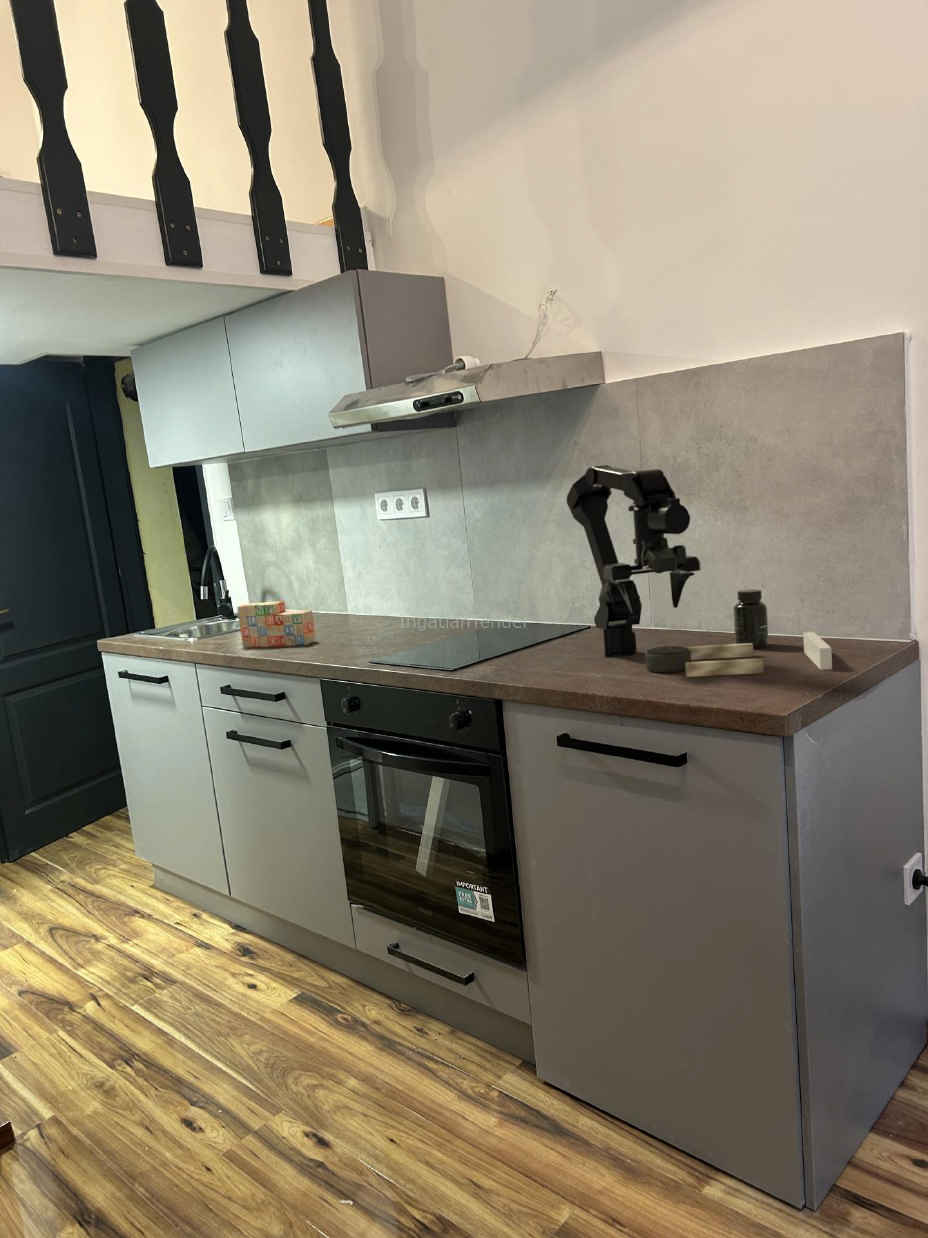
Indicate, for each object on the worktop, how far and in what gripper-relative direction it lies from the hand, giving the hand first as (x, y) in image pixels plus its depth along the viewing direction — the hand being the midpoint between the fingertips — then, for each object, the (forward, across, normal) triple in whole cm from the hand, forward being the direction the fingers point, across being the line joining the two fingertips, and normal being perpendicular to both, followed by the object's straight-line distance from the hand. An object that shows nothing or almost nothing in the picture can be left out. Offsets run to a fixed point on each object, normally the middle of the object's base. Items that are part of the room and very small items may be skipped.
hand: (654, 610), depth 184 cm
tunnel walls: (+11, +9, -9) cm, 17 cm away
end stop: (+11, +26, -16) cm, 32 cm away
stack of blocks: (+12, -77, +94) cm, 122 cm away
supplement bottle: (+11, +24, +4) cm, 27 cm away
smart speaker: (+12, 0, -5) cm, 13 cm away
